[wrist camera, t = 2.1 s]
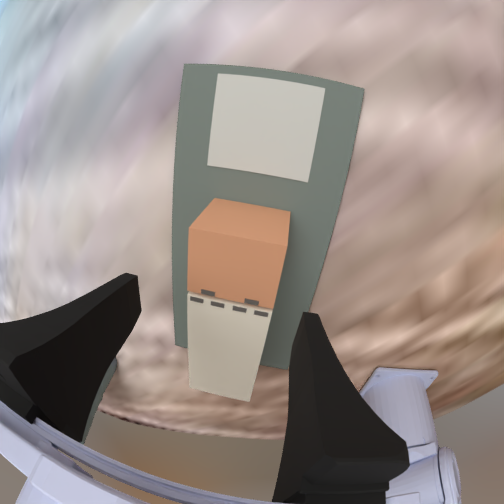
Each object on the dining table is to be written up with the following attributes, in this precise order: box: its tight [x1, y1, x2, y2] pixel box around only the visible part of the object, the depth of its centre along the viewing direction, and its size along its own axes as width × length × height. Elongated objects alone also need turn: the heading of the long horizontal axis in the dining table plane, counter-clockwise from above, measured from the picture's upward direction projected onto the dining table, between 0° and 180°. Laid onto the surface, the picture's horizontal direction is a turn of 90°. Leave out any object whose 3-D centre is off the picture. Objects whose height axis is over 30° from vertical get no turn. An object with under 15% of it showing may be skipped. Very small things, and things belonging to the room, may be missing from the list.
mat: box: [172, 64, 364, 370], centre depth 20 cm, size 24×11×1 cm, turn 172°
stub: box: [187, 198, 290, 309], centre depth 17 cm, size 4×5×5 cm
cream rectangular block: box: [187, 291, 273, 402], centre depth 21 cm, size 10×5×5 cm, turn 172°
